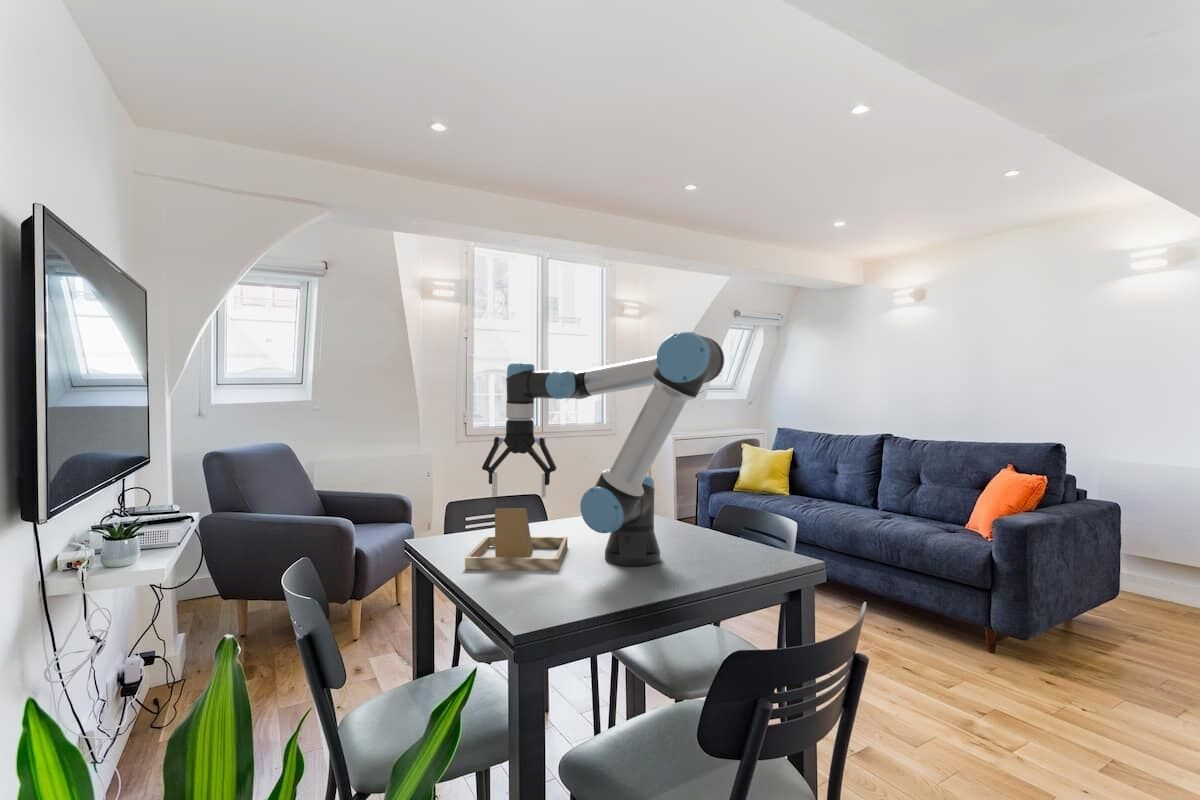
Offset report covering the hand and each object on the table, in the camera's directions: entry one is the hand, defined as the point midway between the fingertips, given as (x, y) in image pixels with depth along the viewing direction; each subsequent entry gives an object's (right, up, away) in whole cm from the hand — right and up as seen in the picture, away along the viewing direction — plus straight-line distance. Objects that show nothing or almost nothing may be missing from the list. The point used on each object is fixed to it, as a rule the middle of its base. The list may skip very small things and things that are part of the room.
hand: (519, 496), depth 163 cm
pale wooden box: (0, -17, 0) cm, 17 cm away
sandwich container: (-1, -17, +1) cm, 17 cm away
